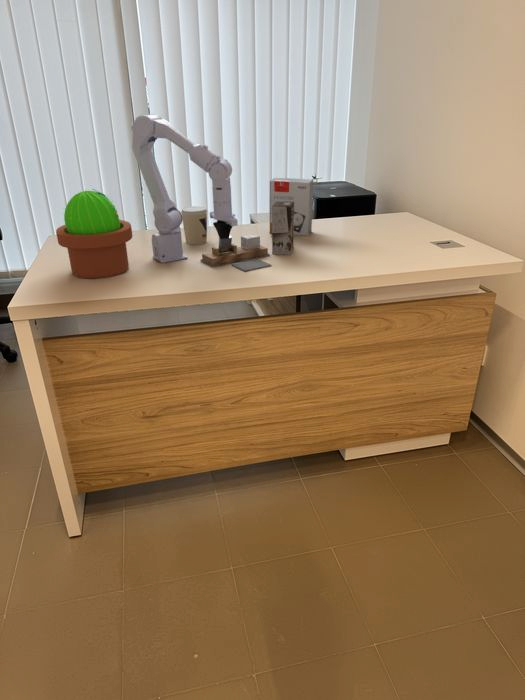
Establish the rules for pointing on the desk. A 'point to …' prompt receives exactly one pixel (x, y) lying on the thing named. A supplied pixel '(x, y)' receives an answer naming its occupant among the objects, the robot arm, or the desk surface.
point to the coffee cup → (195, 224)
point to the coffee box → (282, 227)
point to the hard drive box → (300, 195)
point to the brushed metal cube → (250, 242)
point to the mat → (251, 265)
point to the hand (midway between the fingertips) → (224, 244)
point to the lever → (225, 244)
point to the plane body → (232, 255)
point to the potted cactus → (94, 236)
